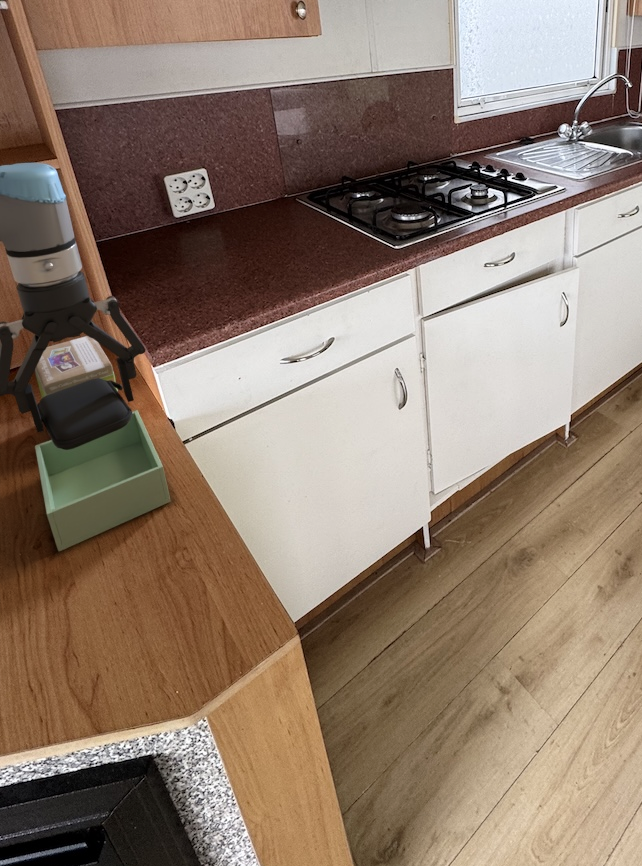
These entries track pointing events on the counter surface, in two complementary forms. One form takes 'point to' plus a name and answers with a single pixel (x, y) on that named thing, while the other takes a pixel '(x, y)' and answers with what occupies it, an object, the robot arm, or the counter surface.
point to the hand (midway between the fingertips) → (86, 411)
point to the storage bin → (100, 483)
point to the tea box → (72, 365)
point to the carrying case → (84, 412)
